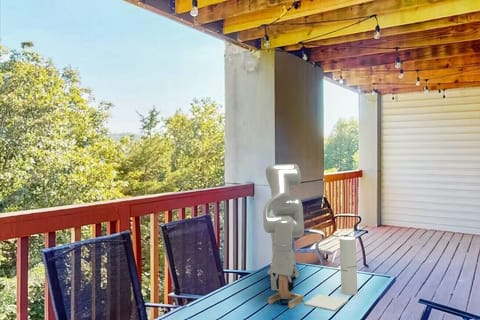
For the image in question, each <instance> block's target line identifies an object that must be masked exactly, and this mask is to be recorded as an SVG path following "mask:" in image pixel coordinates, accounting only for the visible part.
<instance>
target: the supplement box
mask: <svg viewBox="0 0 480 320" xmlns="http://www.w3.org/2000/svg"><path fill="white" fill-rule="evenodd" d="M269 266H270V268H271V267H272V262H271V263H270V264H269ZM270 268H269V269H270ZM270 278H271V281H270V287H271V291H275V290H276V291H277V292H279V289H277V286H276V279H275V277H274V276H273V274H272V273H271V275H270Z"/></svg>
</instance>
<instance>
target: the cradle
mask: <svg viewBox="0 0 480 320" xmlns="http://www.w3.org/2000/svg"><path fill="white" fill-rule="evenodd" d="M278 300H282V298H280V297H279V291H277V292H276V293H274V294H273V295H271V296H269V297H267V304H269V305H273V303H275V302H277V301H278ZM288 300H289V301H288V302H287V305H288V309H291V310H292V309H293V308H295V307H296V306H298V305H300V304H301V303H304V295H303V294H297V293H293V292H291V298H289V299H288Z"/></svg>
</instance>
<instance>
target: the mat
mask: <svg viewBox="0 0 480 320" xmlns="http://www.w3.org/2000/svg"><path fill="white" fill-rule="evenodd" d="M348 302H349V299H346V298H342V297H341V298H340V297H336V296H330V295H325V294H320V293H318V294H317V295H315V296H313V297H312V298H310V299H308V300H307V301H305V302H303V305H304V306H308V307H312V308H316V309H323V310H327V311H331V312H336V311H338V310H339V309H340V308H342V307H343V306H344V305H346V303H348Z"/></svg>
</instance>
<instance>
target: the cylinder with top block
mask: <svg viewBox="0 0 480 320" xmlns="http://www.w3.org/2000/svg"><path fill="white" fill-rule="evenodd" d="M288 282H289V279H288V276H285V275H279V291H278V292H279V297H280V298H281V300H290V299H289V298H291V293H292V291H288Z"/></svg>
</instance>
